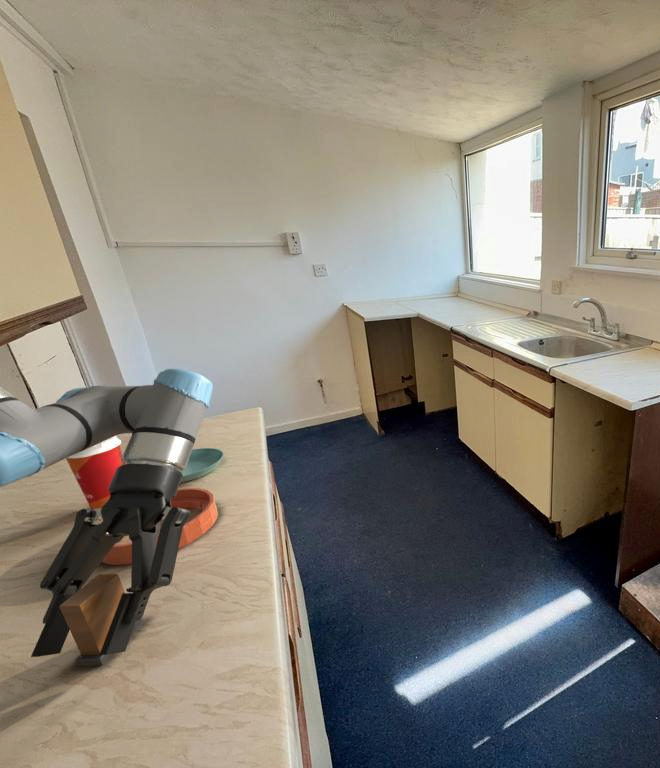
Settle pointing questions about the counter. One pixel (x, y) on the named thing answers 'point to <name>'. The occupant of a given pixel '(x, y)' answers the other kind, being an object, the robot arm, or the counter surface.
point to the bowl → (191, 529)
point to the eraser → (93, 616)
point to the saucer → (201, 463)
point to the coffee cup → (96, 470)
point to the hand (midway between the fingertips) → (79, 653)
